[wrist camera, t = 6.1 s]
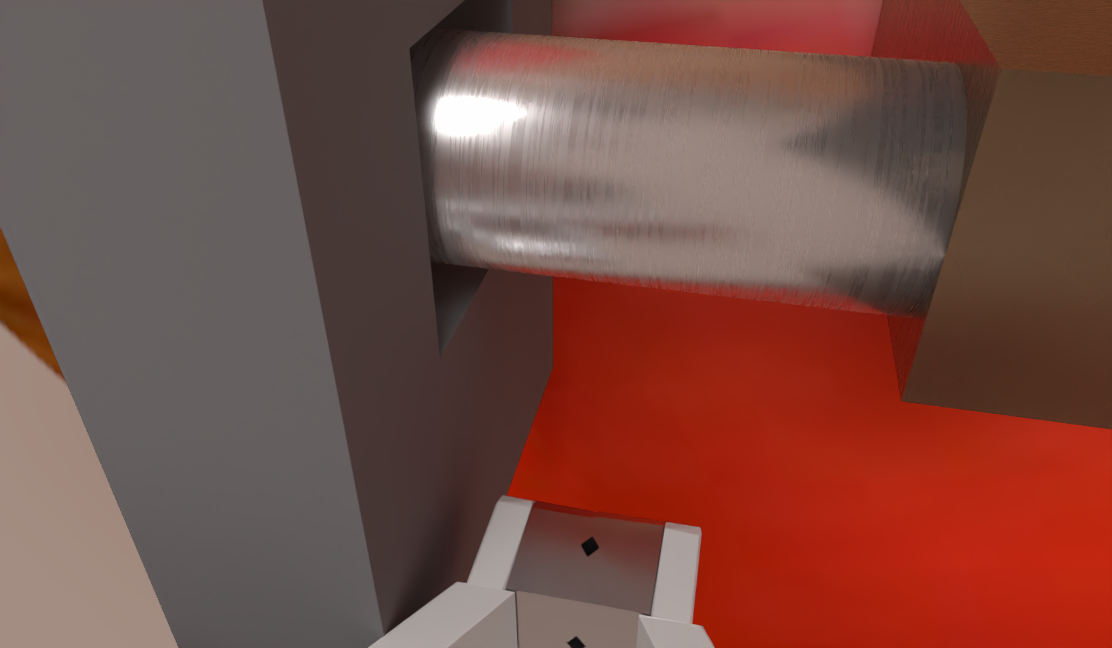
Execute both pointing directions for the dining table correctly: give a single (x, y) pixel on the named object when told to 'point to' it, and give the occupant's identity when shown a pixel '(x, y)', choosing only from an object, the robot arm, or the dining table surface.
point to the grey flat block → (266, 302)
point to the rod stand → (811, 183)
